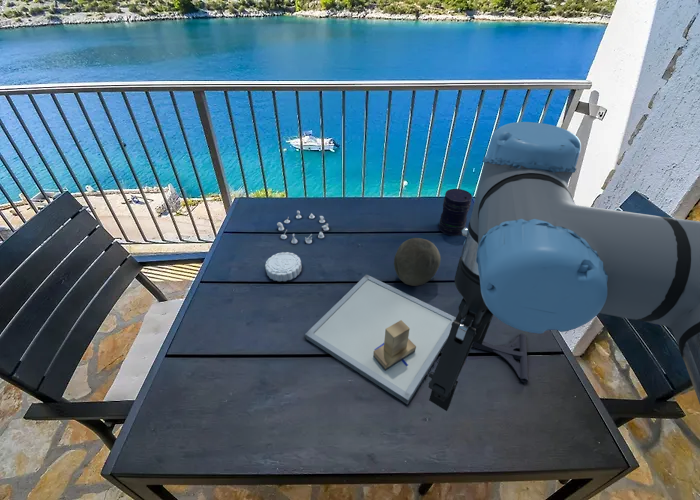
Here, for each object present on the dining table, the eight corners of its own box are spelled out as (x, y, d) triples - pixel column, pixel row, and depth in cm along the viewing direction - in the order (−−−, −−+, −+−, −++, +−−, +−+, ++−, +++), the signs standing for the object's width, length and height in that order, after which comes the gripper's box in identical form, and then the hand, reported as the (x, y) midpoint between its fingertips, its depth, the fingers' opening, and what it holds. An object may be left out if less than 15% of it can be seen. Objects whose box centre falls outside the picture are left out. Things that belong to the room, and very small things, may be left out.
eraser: (385, 371, 87) (387, 345, 80) (373, 356, 90) (374, 330, 83) (415, 352, 91) (420, 326, 84) (402, 339, 94) (406, 313, 88)
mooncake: (261, 280, 115) (259, 272, 112) (272, 257, 124) (270, 249, 122) (297, 283, 113) (296, 275, 111) (305, 259, 123) (304, 252, 121)
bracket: (469, 324, 100) (471, 317, 99) (525, 338, 96) (528, 332, 95) (464, 365, 90) (466, 359, 88) (526, 383, 86) (530, 377, 84)
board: (407, 404, 82) (408, 400, 80) (305, 338, 96) (304, 334, 95) (457, 323, 100) (459, 318, 99) (366, 278, 115) (366, 274, 114)
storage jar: (434, 229, 138) (440, 195, 128) (446, 218, 143) (452, 186, 134) (457, 238, 133) (465, 204, 123) (468, 227, 138) (477, 194, 129)
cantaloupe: (431, 299, 108) (439, 262, 99) (387, 288, 112) (391, 251, 102) (438, 270, 118) (446, 235, 109) (398, 261, 122) (402, 226, 113)
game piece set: (269, 239, 132) (268, 230, 130) (291, 212, 147) (290, 204, 145) (317, 248, 128) (316, 240, 126) (335, 219, 143) (334, 211, 140)
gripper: (495, 207, 50) (465, 308, 63) (412, 316, 34) (395, 420, 47) (552, 225, 46) (507, 328, 59) (489, 355, 30) (447, 456, 44)
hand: (457, 369), depth 53 cm, fingers open, 13 cm apart
